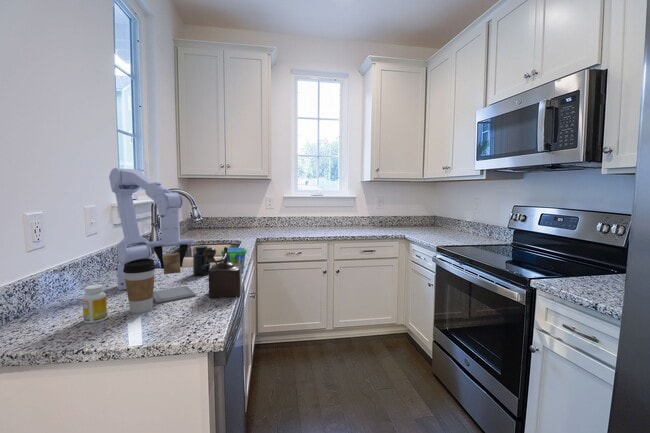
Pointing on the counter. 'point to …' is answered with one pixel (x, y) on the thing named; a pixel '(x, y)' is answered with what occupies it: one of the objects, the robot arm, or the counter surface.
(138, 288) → the coffee cup
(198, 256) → the supplement bottle
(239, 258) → the snack cup
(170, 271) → the block
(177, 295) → the coaster
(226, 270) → the manual coffee grinder
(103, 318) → the supplement bottle
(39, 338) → the counter surface
